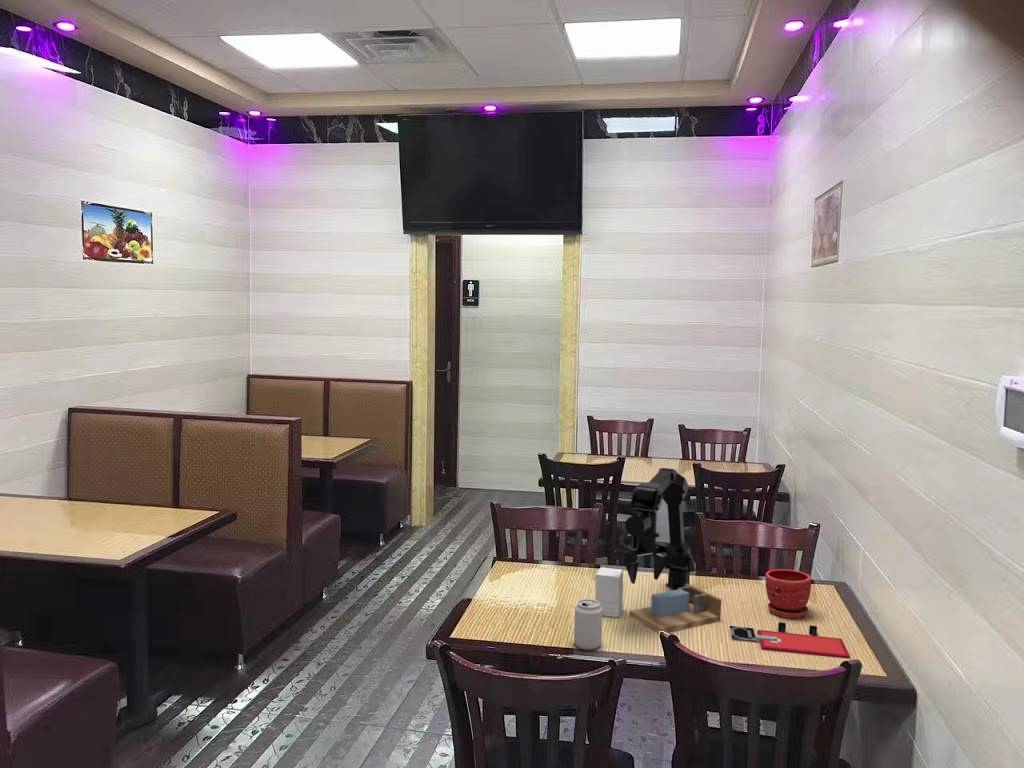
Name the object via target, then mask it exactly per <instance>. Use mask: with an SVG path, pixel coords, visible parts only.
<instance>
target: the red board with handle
mask: <svg viewBox="0 0 1024 768" xmlns="http://www.w3.org/2000/svg"><path fill="white" fill-rule="evenodd" d="M786 627H787V624H786V622H784V621H783V622H782V621H778V625H777V631H772V630H763V629H757V631H756V632H757V633H756V634H755V629H754V628H753V627H744V626H734V625H729V629H730V637H731V639H737V640H744V641H745V640H746V641H754V642H755V643H757V644H758V643H759V645H760V646H759V647H760V648H761V649H760V650H761V651H769V652H770V651H771V652H780V653H782V652H783V653H790V654H800V655H808V656H809V655H811V656H812V655H813V656H818V657H819V656H821V657H829V658H830V657H831V658H840V659H849V660H850V659H851V655H850V653H849V650H848V649H847V646H846V645H845V643H844V641H843V639H842V638H841V637H840V638H837V637H831V636H830V637H828V636H821V635H817V634H818V626H817V625H809V626H808V627H809V628H808V634H802V633H791V632H786V631H787V630H786V629H787V628H786Z"/></svg>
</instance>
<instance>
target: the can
mask: <svg viewBox="0 0 1024 768" xmlns="http://www.w3.org/2000/svg"><path fill="white" fill-rule="evenodd" d="M573 626H574V627H573V628H574V629H573V630H574V631H573V643H574V645H576V646H577V648H579V649H582V650H588V651H592V650H596V649H598V648H599V647H600V646H601V645H602V638H603V636H602V634H603V616H602V607H601V606H600V603H599V602H598V601H596V600H595V599H593V598H592V599H591V598H583V599H580V600H577V602H576V605H575V606H574V625H573Z"/></svg>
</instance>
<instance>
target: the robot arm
mask: <svg viewBox="0 0 1024 768" xmlns="http://www.w3.org/2000/svg"><path fill="white" fill-rule="evenodd" d="M688 490H689V484H688V481H687V479H686V478H685V477H684V476H683V475H681V474H680V473H678V471H677V469H675V468H669V467H668V468H667V467H661V468H659V469H658V472H657V473H656V474H655V475H654V476H653V477H652V478H651V479H650V480H649V482H642V483H639V484H638V485H636V487H635V488H634V489H633V492H632V497H631V500H630V504H629V508H628V510H629V511H632V512H631V516H629V517H627V519H626V521H625V523H624V529H625V531H626V532H624V533H620V534H618V544H619V545H620V546H622V545H623V548H622V547H621V548H616V550H614V554H613V555H614V556H613V559H615V560H617V561H618V562H619V561H620V562H621V563H623V564H624V566H625V568H626V571H627V574H628V577H629V580H630V583H631V584H632V585H634V584H635V583H636V580H637V575H638V570H639V564H640V563H639V562H637V561H638V558H639V557H646V556H652V559H653V579H654V580H655V581H657V580H658V579H659V577H660V575H661V574H662V573H663V571H664V569H667V570H668V574H667V583H665V586H667V587H668V588H670V589H673V590H678V588H680V587H684V584H689V585H690V580H691V579H690V574H691V573H692V572H693V573H694V572H695V559H694V558H693V554H692V553H691V546H690V545H689V544H688V543H687V542H686V540H685V529H684V528H685V527H684V514H683V512H684V511H683V510H684V509H683V502H684V501H683V500H684V499H685V498H686V496H687V493H688V492H689V491H688ZM663 501H664V503H666V505H667V518H668V519H667V521H668V534H669V543H668V542H666V541H665V542H664V541H662V542H657V538H660V533H659V532H657V521H658V520H657V518H658V513H657V512H658V511H659V510H660V508H661V505H662V502H663ZM629 547H630V548H631V549H630V548H629ZM633 549H634V550H633Z"/></svg>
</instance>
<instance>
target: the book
mask: <svg viewBox="0 0 1024 768" xmlns="http://www.w3.org/2000/svg"><path fill="white" fill-rule="evenodd" d="M650 605H651V606H650V607H651V613H653V614H655V615H657V616H658V617H663V616H668V615H673V614H677V613H682V612H687V611H689V593H688V592H686V591H684V590H682V589H678V590H675V589H673V590H669V591H663V592H659V593H652V594H651V603H650Z"/></svg>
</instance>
